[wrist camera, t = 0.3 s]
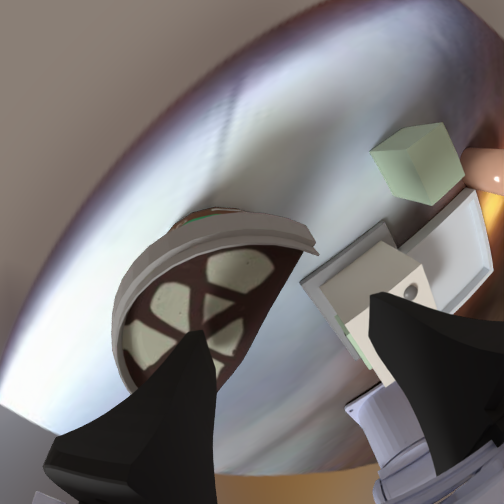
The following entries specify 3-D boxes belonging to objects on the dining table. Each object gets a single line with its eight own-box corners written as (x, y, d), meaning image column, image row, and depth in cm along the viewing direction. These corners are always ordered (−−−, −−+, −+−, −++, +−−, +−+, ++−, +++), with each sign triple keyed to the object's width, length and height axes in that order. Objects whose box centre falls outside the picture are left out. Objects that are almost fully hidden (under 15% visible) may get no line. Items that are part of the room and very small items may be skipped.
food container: (179, 156, 17) (159, 161, 8) (262, 194, 19) (327, 241, 10) (120, 309, 20) (88, 408, 10) (192, 334, 22) (198, 438, 12)
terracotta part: (486, 176, 19) (522, 183, 14) (467, 196, 20) (505, 206, 15) (474, 140, 18) (511, 142, 13) (454, 159, 19) (493, 162, 14)
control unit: (419, 306, 22) (457, 339, 17) (353, 357, 23) (379, 401, 18) (381, 220, 20) (429, 242, 14) (299, 282, 21) (323, 325, 15)
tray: (485, 266, 22) (493, 270, 21) (426, 325, 23) (433, 332, 22) (465, 187, 19) (475, 189, 18) (395, 250, 21) (404, 255, 19)
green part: (424, 170, 19) (465, 175, 14) (393, 196, 19) (432, 205, 14) (402, 127, 18) (442, 122, 13) (368, 151, 18) (406, 149, 13)
